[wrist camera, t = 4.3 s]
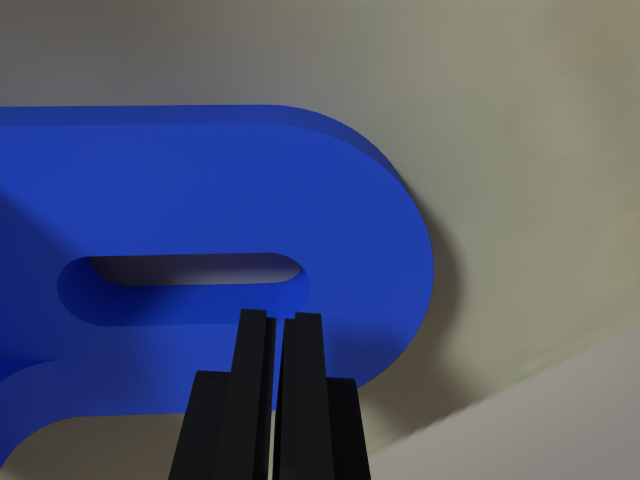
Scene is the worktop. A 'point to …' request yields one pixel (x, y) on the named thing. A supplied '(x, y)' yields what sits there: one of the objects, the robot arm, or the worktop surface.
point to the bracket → (190, 251)
